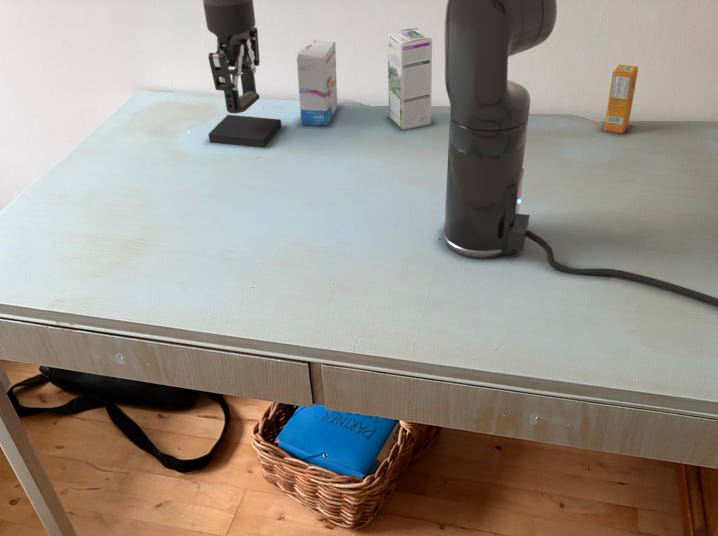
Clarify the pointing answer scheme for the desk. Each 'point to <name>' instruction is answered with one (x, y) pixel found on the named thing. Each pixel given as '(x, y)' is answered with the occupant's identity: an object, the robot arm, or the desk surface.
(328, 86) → the ink box
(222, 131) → the black pad
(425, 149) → the desk surface
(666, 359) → the desk surface
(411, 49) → the syrup box
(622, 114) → the supplement box
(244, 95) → the block
